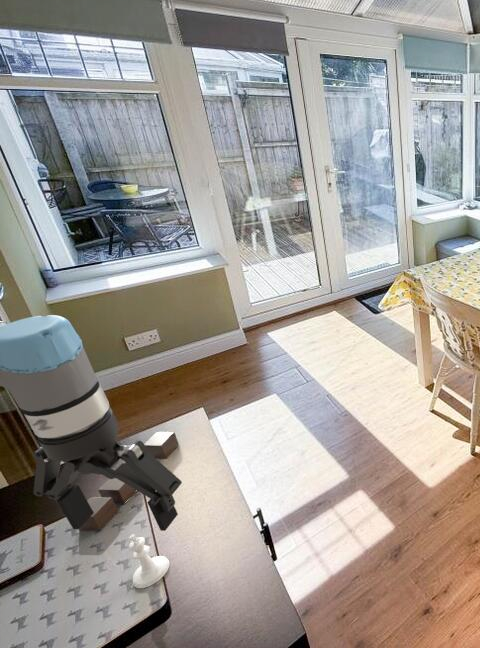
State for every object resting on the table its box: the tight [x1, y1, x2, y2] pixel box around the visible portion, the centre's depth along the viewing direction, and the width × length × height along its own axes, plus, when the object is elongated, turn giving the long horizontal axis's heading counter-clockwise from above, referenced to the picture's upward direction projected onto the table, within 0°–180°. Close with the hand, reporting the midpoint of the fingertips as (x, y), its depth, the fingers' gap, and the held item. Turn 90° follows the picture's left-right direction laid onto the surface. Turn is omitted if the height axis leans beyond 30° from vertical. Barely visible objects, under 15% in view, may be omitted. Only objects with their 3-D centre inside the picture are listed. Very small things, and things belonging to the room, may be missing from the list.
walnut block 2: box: [78, 496, 119, 532], centre depth 79 cm, size 4×4×4 cm
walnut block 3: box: [144, 431, 180, 460], centre depth 94 cm, size 4×4×4 cm
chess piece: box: [128, 533, 170, 589], centre depth 70 cm, size 5×5×10 cm
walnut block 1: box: [97, 478, 138, 505], centre depth 84 cm, size 4×4×4 cm
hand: (126, 521), depth 66 cm, fingers open, 13 cm apart
